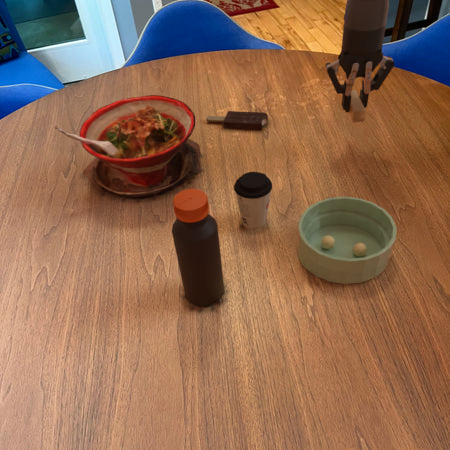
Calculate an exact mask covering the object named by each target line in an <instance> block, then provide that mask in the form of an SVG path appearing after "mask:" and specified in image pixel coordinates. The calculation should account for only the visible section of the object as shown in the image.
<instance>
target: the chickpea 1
mask: <svg viewBox="0 0 450 450" xmlns="http://www.w3.org/2000/svg"><path fill="white" fill-rule="evenodd" d="M334 244H335V240H334V238H333V237H331V236H325V237H323V239H322V240H321V245H322V247H323V248H325V249H331V248H332V247H333V246H334Z"/></svg>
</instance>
